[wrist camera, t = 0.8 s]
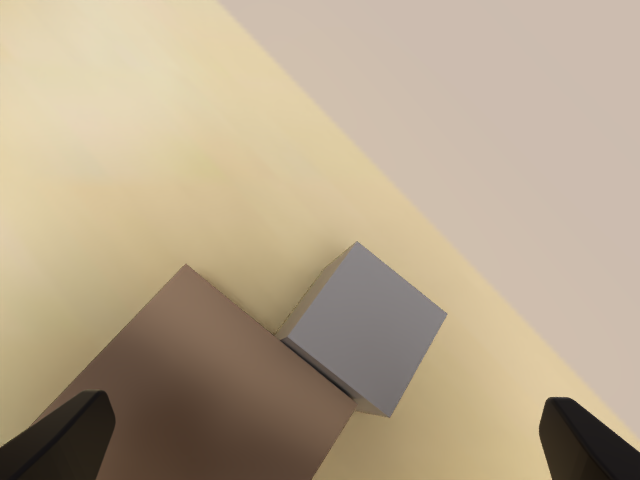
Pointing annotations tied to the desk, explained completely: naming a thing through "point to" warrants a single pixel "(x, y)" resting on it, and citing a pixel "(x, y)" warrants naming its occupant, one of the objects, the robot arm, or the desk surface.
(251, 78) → the desk surface
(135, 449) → the walnut block
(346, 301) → the grey cube
